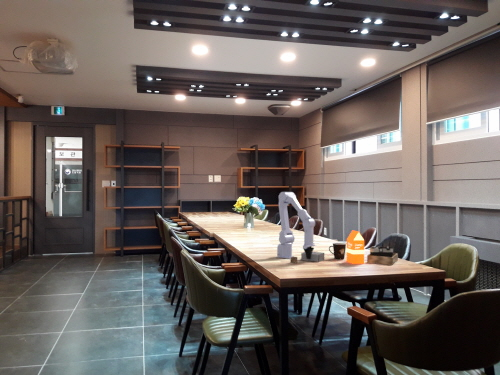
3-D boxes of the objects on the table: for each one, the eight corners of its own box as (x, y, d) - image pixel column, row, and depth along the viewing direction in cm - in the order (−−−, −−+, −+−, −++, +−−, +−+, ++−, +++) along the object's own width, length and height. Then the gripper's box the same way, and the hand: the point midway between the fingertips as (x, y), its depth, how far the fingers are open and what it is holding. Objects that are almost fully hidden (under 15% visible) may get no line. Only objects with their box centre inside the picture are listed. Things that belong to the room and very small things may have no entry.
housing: (301, 259, 246) (301, 253, 246) (307, 257, 254) (307, 251, 254) (319, 261, 240) (319, 254, 240) (324, 259, 248) (324, 252, 248)
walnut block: (290, 262, 235) (290, 257, 235) (292, 262, 237) (292, 256, 238) (295, 263, 233) (295, 257, 233) (297, 262, 236) (297, 257, 236)
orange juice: (352, 263, 234) (353, 231, 234) (346, 261, 242) (346, 230, 243) (364, 263, 235) (364, 231, 236) (357, 261, 244) (357, 230, 244)
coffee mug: (344, 257, 256) (345, 243, 256) (346, 260, 247) (347, 244, 247) (327, 257, 257) (327, 242, 257) (328, 259, 248) (328, 244, 248)
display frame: (367, 262, 240) (367, 255, 240) (374, 258, 256) (374, 251, 256) (392, 265, 232) (392, 257, 232) (397, 260, 248) (397, 253, 248)
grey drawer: (301, 259, 244) (301, 253, 245) (307, 257, 253) (307, 251, 253) (317, 261, 239) (317, 255, 239) (323, 259, 247) (323, 253, 248)
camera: (388, 262, 248) (387, 247, 250) (395, 262, 237) (394, 246, 239) (366, 262, 248) (365, 246, 250) (372, 262, 237) (371, 246, 239)
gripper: (310, 239, 232) (310, 261, 232) (318, 236, 245) (318, 257, 245) (299, 238, 236) (299, 260, 236) (308, 236, 248) (308, 256, 248)
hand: (308, 258), depth 240 cm, fingers closed
